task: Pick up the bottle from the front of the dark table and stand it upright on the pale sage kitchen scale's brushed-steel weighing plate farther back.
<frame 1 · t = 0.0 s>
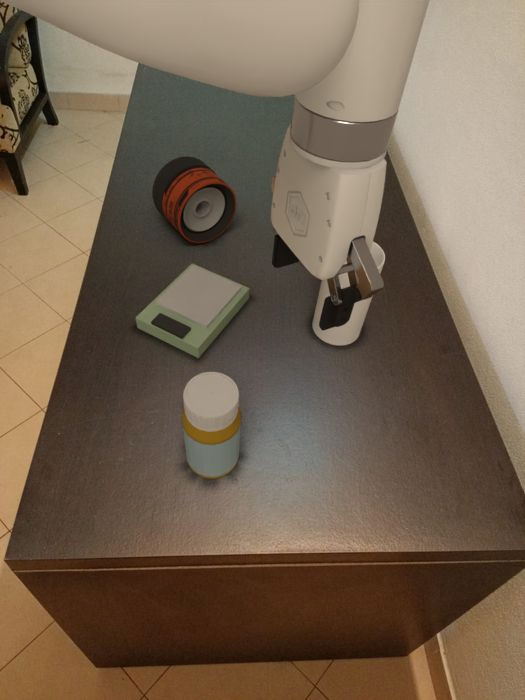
hand: (308, 292, 48), 25 cm above the table, tool pointing down, fingers open, 9 cm apart
cup: (335, 328, 80), on the table
oil filter: (193, 226, 95), on the table
computer mouse: (332, 257, 92), on the table
scale: (195, 312, 80), on the table
bottle: (212, 456, 63), on the table
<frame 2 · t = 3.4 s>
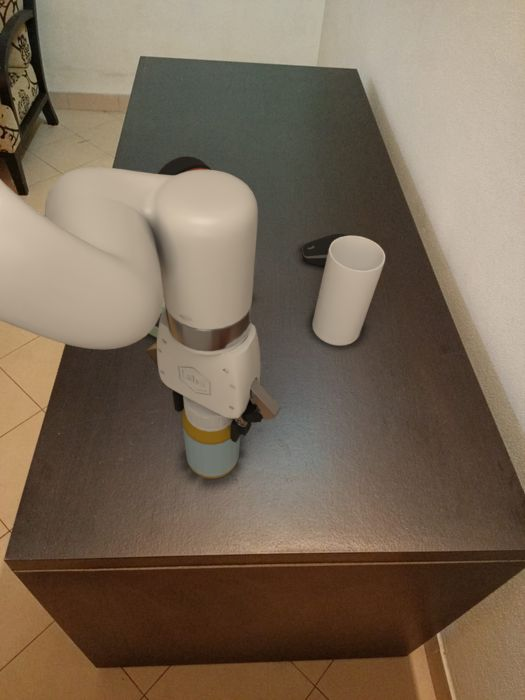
hand: (211, 416, 55), 10 cm above the table, tool pointing down, fingers closed on bottle, 7 cm apart
bottle: (212, 456, 63), on the table, touching gripper
everything else where it was.
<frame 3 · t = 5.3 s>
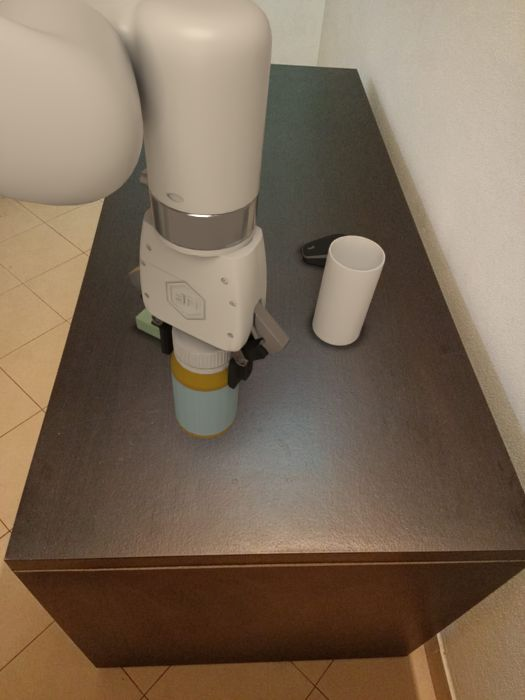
hand: (205, 360, 47), 21 cm above the table, tool pointing down, fingers closed on bottle, 7 cm apart
bottle: (206, 415, 55), point 11 cm above the table, touching gripper
everything else where it was.
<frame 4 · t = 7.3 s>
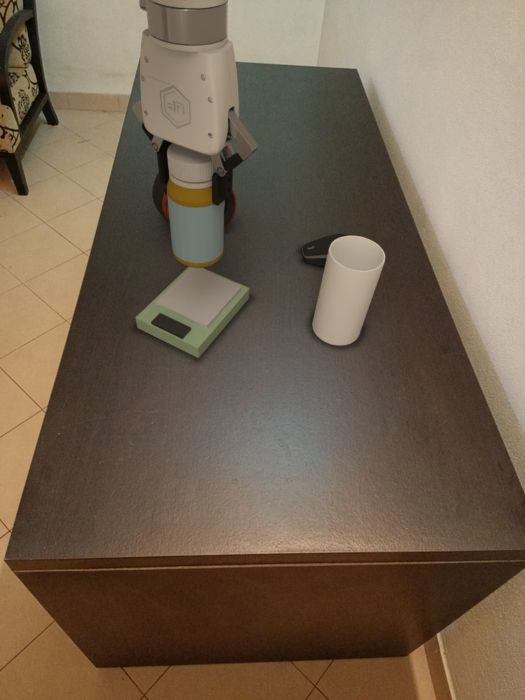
hand: (195, 188, 58), 26 cm above the table, tool pointing down, fingers closed on bottle, 7 cm apart
bottle: (198, 255, 66), point 15 cm above the table, touching gripper
everything else where it was.
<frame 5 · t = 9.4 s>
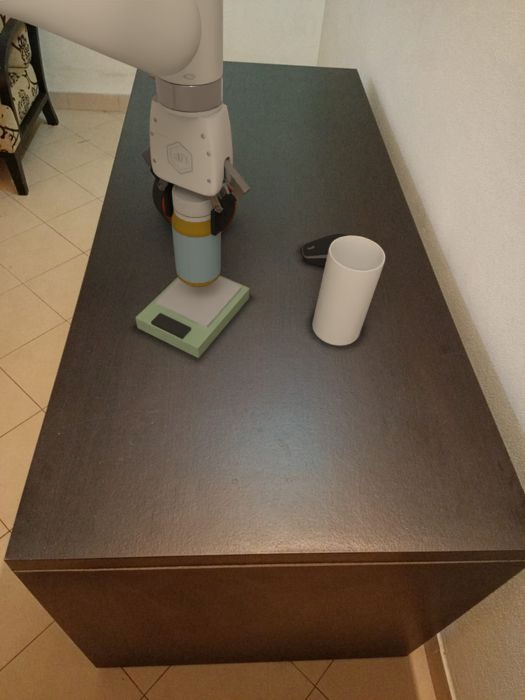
hand: (196, 220, 67), 18 cm above the table, tool pointing down, fingers closed on bottle, 7 cm apart
bottle: (198, 275, 75), point 7 cm above the table, touching gripper
everything else where it was.
when the fingers open (14 cm above the table, at t = 11.1 s): bottle stays where it is, resting on scale.
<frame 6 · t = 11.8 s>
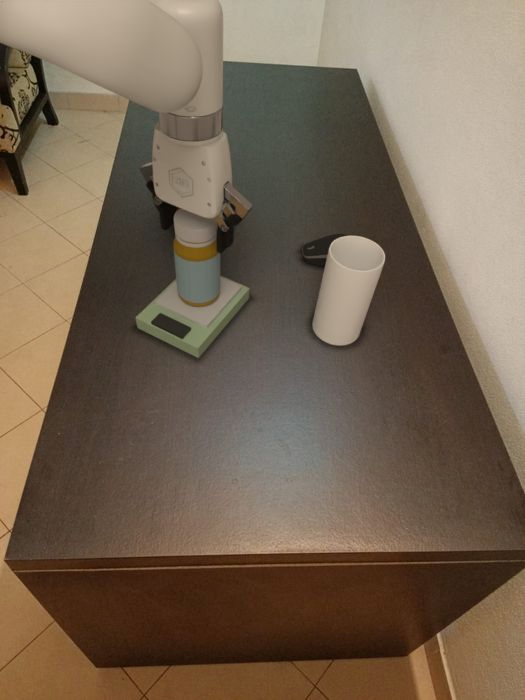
hand: (196, 236, 69), 15 cm above the table, tool pointing down, fingers open, 9 cm apart
bottle: (199, 294, 78), point 3 cm above the table, touching scale
everything else where it was.
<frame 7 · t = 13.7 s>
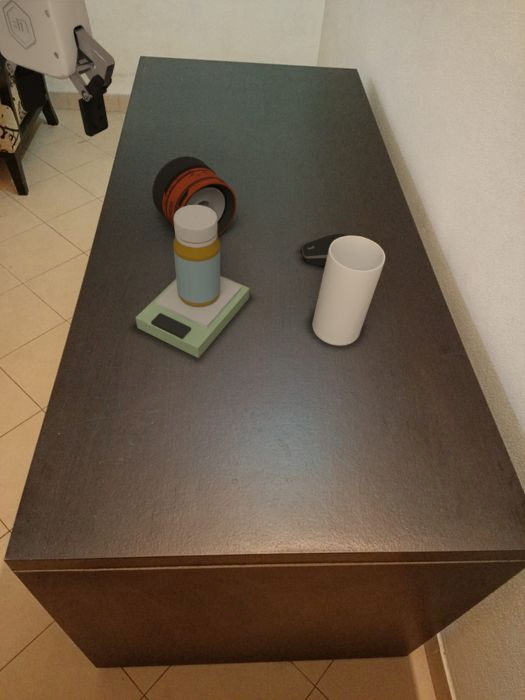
hand: (65, 119, 55), 31 cm above the table, tool pointing down, fingers open, 9 cm apart
nothing on the table moved.
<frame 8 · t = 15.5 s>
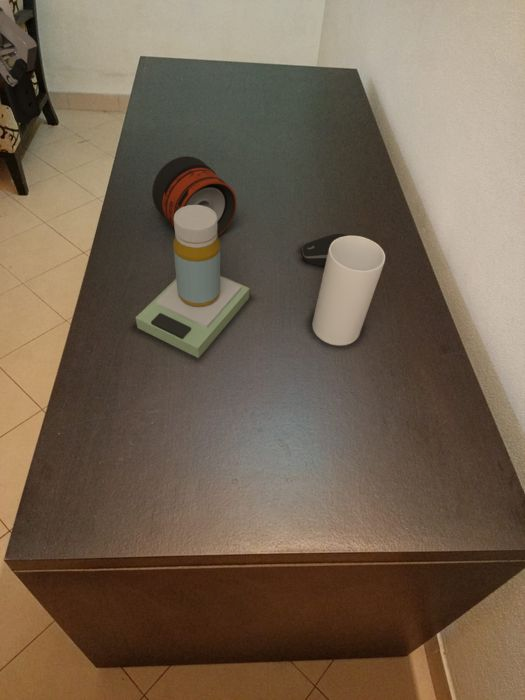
nothing on the table moved.
at the end: bottle inside the target area on the scale (0.1 cm from its centre), point 3.1 cm above the scale's base; bottle tilted 0° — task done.
